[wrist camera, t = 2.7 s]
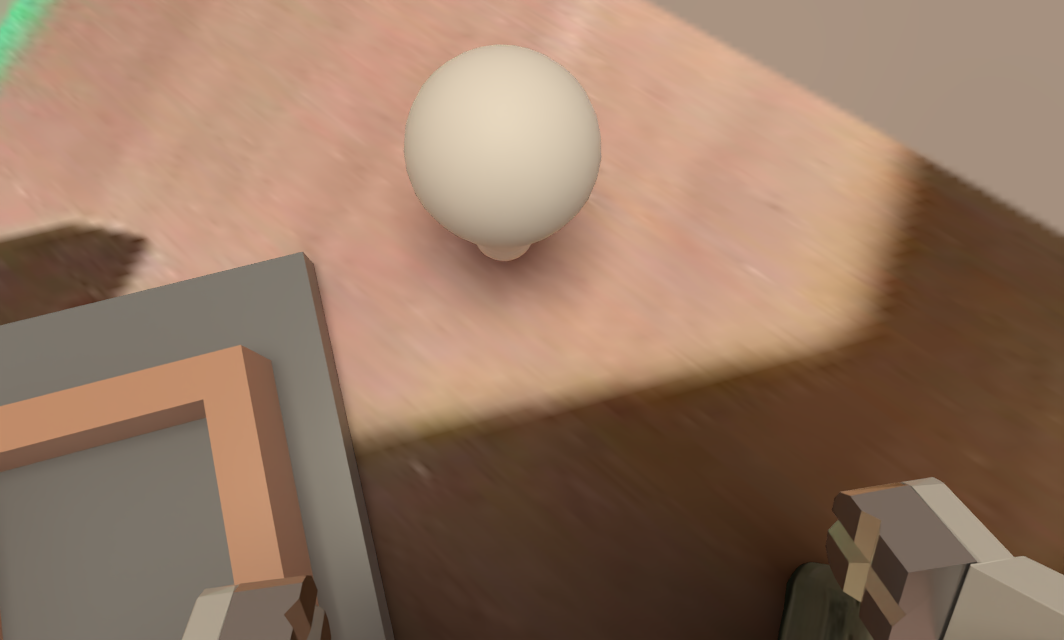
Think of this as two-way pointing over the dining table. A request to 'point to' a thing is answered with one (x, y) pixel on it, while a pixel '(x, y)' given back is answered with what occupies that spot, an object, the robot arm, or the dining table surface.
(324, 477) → the board
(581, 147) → the lightbulb
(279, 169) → the dining table surface
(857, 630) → the labelled grey plug block
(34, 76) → the dining table surface
